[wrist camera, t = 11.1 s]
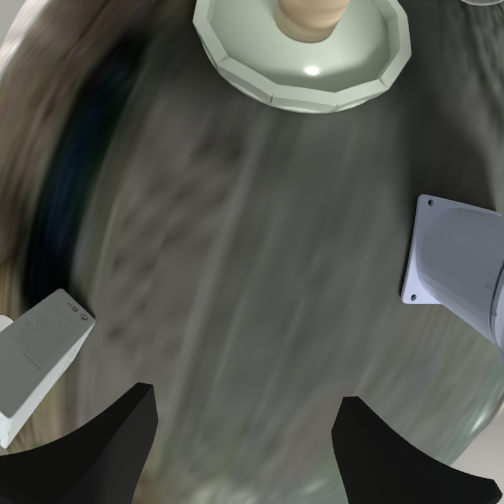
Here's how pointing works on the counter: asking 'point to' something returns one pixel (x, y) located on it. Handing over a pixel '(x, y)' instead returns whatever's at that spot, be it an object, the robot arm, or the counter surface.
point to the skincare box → (37, 356)
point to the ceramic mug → (482, 2)
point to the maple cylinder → (309, 18)
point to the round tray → (305, 54)
